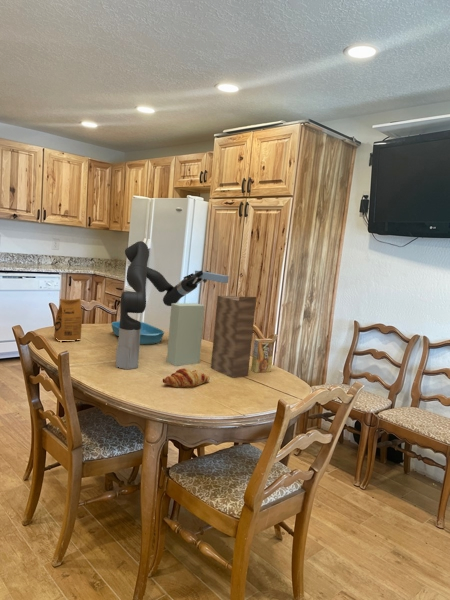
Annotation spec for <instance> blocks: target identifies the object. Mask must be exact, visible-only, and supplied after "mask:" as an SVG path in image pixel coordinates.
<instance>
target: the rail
mask: <svg viewBox="0 0 450 600" xmlns="http://www.w3.org/2000/svg"><path fill="white" fill-rule="evenodd" d="M199 271H200V270H194V274H195V273H198V272H199ZM202 271H203V275H201V276H200V277H198V278H202V279H207V281H211V282H217V283H221V284H229V278H230V277H229V275H224V274H220V273H214V272H206V271H204V270H202Z"/></svg>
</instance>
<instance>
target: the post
mask: <svg viewBox="0 0 450 600" xmlns="http://www.w3.org/2000/svg"><path fill="white" fill-rule="evenodd" d="M256 303H257V296H235V295H217V300H216V308H215V309H216V310H215V317H214V318H215V319H214V320H215V321H214V322H215V323H214V330H213V340H212V352H211V363H210V368H211V369H212V370H214V371H217V372H219V373H221V374H223V375H225V376H227V377H229V378H232V379H235V378H241V377H243V378H244V377H247V376H249V371H250V370H249V369H250V360H251V351H252V350H251V349H252V340H253V333H254V323H255V314H256Z"/></svg>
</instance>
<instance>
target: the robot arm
mask: <svg viewBox="0 0 450 600" xmlns="http://www.w3.org/2000/svg"><path fill="white" fill-rule="evenodd" d="M124 254H125V257H126V259H127V260H128V261H129V262H130V264H129V266H128V268H127V269H126V270H127V271H126V282H127V284H128V285H129V286H130V287H131V289H132V290H133V291H127V290H124V291H122V292H121V295H120V303H119V304H120V306H119V309H120V310H119V311H120V314H119V315H120V316H119V321H120V325H119V337H118V339H117V340H118V341H117V342H118V344H117V346H116V353H115V354H116V355H115V368H118V367H119V369H124V370H132V369H136V368H138V367H139V357H140V346H141V345H140V332H141V323H140V322H141V321H140V320H137V319H135V318H133V317H131V316H130V315H129V314H128V313H130V314H143V313H144V312H145V310H146V306H147V293H146V291H147V290H146V286H147V279H148V280H149V282H150V283H152V285H153V287H154V288H155V289H156V290H157V291H158V292H159V293H164V292H166V293H165V295H164V296H163V297H162V302H163V304H164V305H165V306H167V307H171V303H179V301H180V300H181V299H182V298H183V297H184V296H186V295H188V294H191V293H192V291H194V290H196V288H197V287H198V286H199V285H198V284H201V283H202V282H203V283H204V284H205V283H207V281H208V280H207V279H202V278H198V277H200V276H201V275H203V271H204V270H198V271H199V272H198V273H195V272H193V273H191V274H188V275H186V276H184V277H183V279H182V280H181V281H179V282H178V283H177V284H176V285H175V286H173V285H172V284H171V283H170V282H168V280H167V279H166V278H165V277H164V275H163V274H162V273H161V272H159V271H158V270H155V269H153V268H150V267H148V261H149V256H150V249H149V247H148V245H147V244H146V242H144V241H142V240H141V241H140V240H139V241H137V242H135V243H133V244H130V245H129V246H128V247H127V248H125V251H124ZM205 272H209V270H206V271H205ZM209 273H210V272H209Z"/></svg>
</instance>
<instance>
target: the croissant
mask: <svg viewBox="0 0 450 600" xmlns="http://www.w3.org/2000/svg"><path fill="white" fill-rule="evenodd" d="M210 380H211V377H210V375H207V374H205V373H201V372H199V371H198V370H196V369H195V370H191V369H189V368H179V369H177V370H176V371H175V372H173V373H171V374H170V375H169V376H168V375H167V376H166V377H165V378H162V383H163V384H164V385H167V386H170V387H175V388H194V387H196V386H198V385H199V386H200V385H202V384H204V383H207V382H209V381H210Z"/></svg>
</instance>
